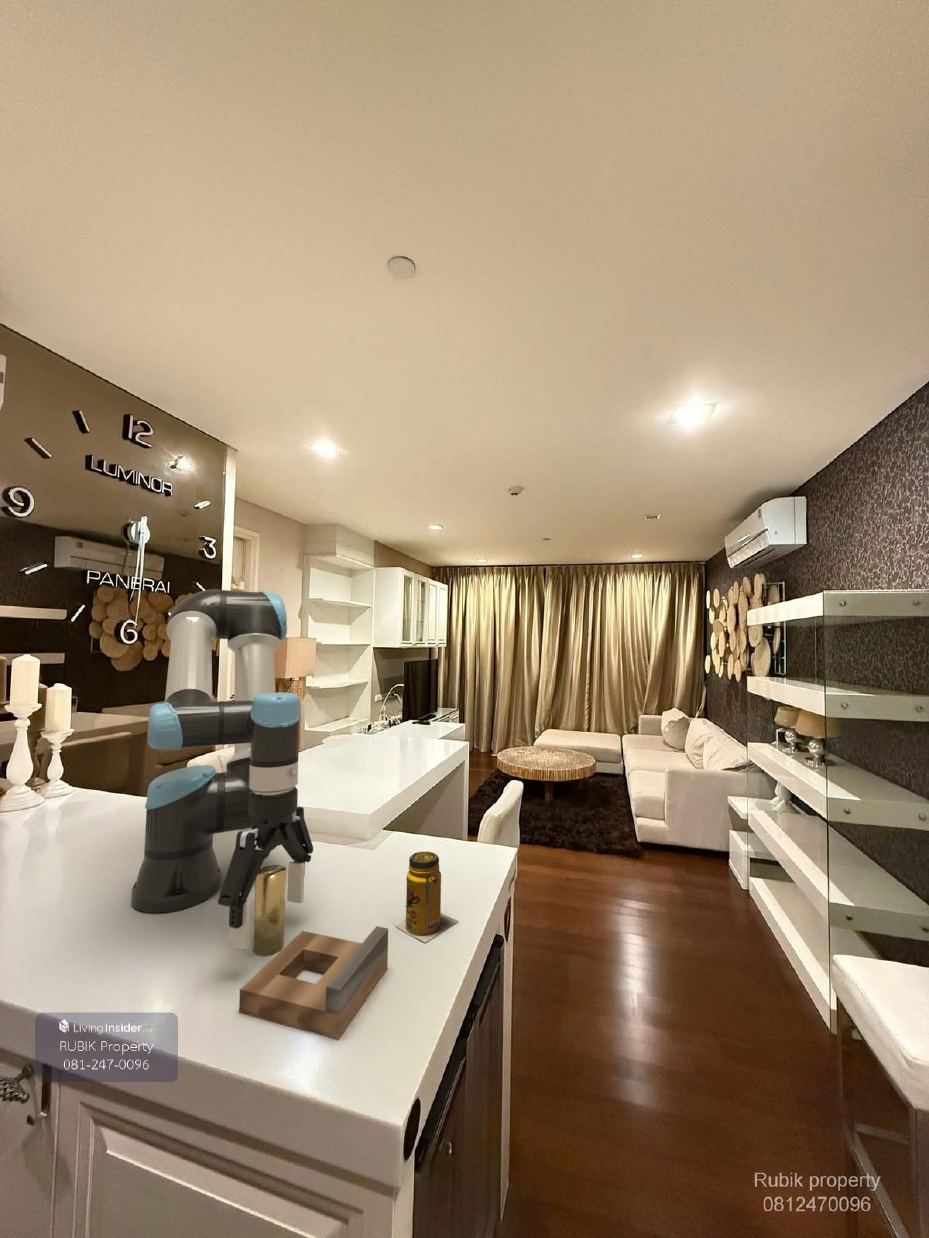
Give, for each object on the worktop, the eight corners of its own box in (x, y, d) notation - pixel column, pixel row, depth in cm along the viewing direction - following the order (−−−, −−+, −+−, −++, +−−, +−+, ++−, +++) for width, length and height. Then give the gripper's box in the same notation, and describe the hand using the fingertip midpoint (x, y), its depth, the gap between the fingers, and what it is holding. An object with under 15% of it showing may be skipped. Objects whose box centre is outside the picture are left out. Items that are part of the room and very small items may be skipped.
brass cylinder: (246, 952, 79) (249, 875, 79) (266, 936, 83) (268, 863, 84) (271, 958, 77) (273, 879, 78) (289, 941, 82) (292, 867, 82)
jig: (239, 1012, 66) (240, 965, 66) (301, 949, 80) (302, 911, 80) (338, 1039, 62) (340, 989, 62) (387, 968, 75) (388, 928, 76)
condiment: (395, 927, 86) (396, 856, 87) (429, 907, 93) (430, 842, 93) (424, 944, 82) (426, 869, 82) (458, 922, 88) (459, 853, 89)
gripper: (237, 816, 68) (232, 975, 67) (334, 771, 92) (331, 889, 91) (193, 810, 70) (187, 964, 69) (299, 768, 94) (296, 882, 93)
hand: (269, 922), depth 80 cm, fingers open, 13 cm apart
